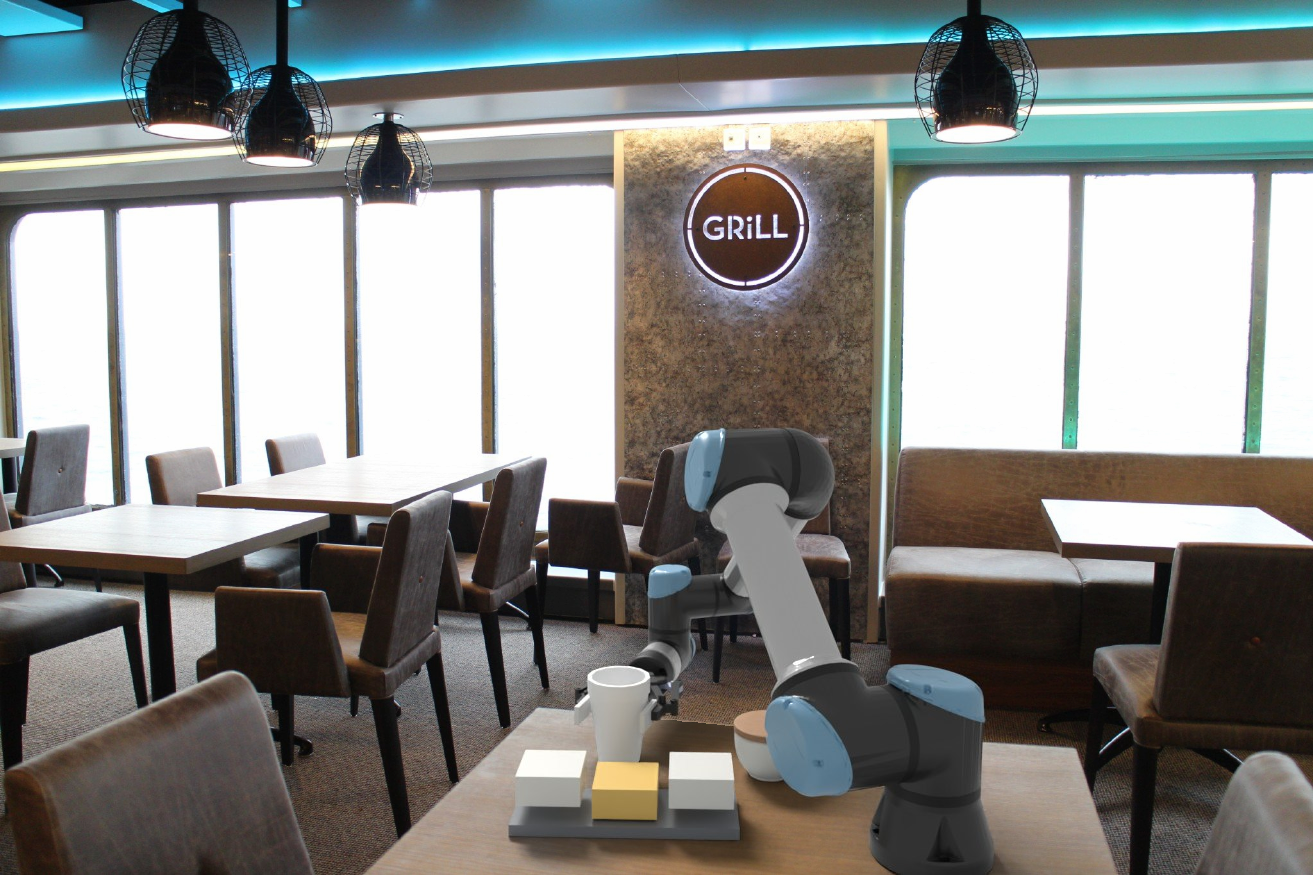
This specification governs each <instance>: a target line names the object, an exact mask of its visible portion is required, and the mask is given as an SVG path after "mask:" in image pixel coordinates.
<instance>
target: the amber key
mask: <svg viewBox="0 0 1313 875" xmlns="http://www.w3.org/2000/svg"><path fill="white" fill-rule="evenodd" d="M596 763H597V764H596V768H595V772H594V778H593V783H592V785H591V786H592V787H591V788H592V819H638V820H657V808H658V791H659V781H660V780H659V776H660V775H659V774H660V773H659V772H660V771H659V768H660V767H659V762H645V761H644V762H641V761H640V762H599V761H597V762H596Z"/></svg>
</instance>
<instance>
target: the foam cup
mask: <svg viewBox="0 0 1313 875" xmlns="http://www.w3.org/2000/svg"><path fill="white" fill-rule="evenodd" d="M587 682H588V695H589V696H590V702H591V709H592V712H591V714H592V715H591V716H592V723H593V724H592V725H593V730H594V731H593V732H594V736H595V737H594V738H595V744H596V745H595V746H596V752H597V759H598V760H597V761H598V762H639V761H640V760H641V758H640V757H641V755H642V754H641V753H642V746H643V737H644V733H640V732H639V714H640V713H641V712H642V711H643V710H644V708H645V707H646V706H647V705H648V703H649V701H648V694H649V693H650V676H649V673H648V672H646V671H644V670H643V669H640V668H635V667H630V666H628V665H626V666H625V665H612V666H603V667H600V668H597V669H594V670H591V672H589V673H588V674H587Z"/></svg>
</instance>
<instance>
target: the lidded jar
mask: <svg viewBox="0 0 1313 875" xmlns="http://www.w3.org/2000/svg"><path fill="white" fill-rule="evenodd" d="M766 710H767V709H761V710H760V709H757V710H751V711H747V712H744V713H741V714H739V715H738V716H736V717H735V719H733V732H734V733H733V734H734V736H733V737H734V747H735V752H736V756H737V758H738V761H739V763H740V764H741V766H742V767H743V768H744V769H745V771H747V772H748V775H749V777H751V778H753V779H755V780H758V781H761V782H766V783H767V782H770V783H771V782H772V783H773V782H775V783H776V782H780V781H784V779H783V778H782V777H781V775H780V774H779V772H778V770H777V768H776V767H775V764H774V762H773V760H772V758H771V755H770V752H769V749H768V745H767V741H766V737H767V736H768V734H767V732H766V730H765V715H766Z"/></svg>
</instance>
